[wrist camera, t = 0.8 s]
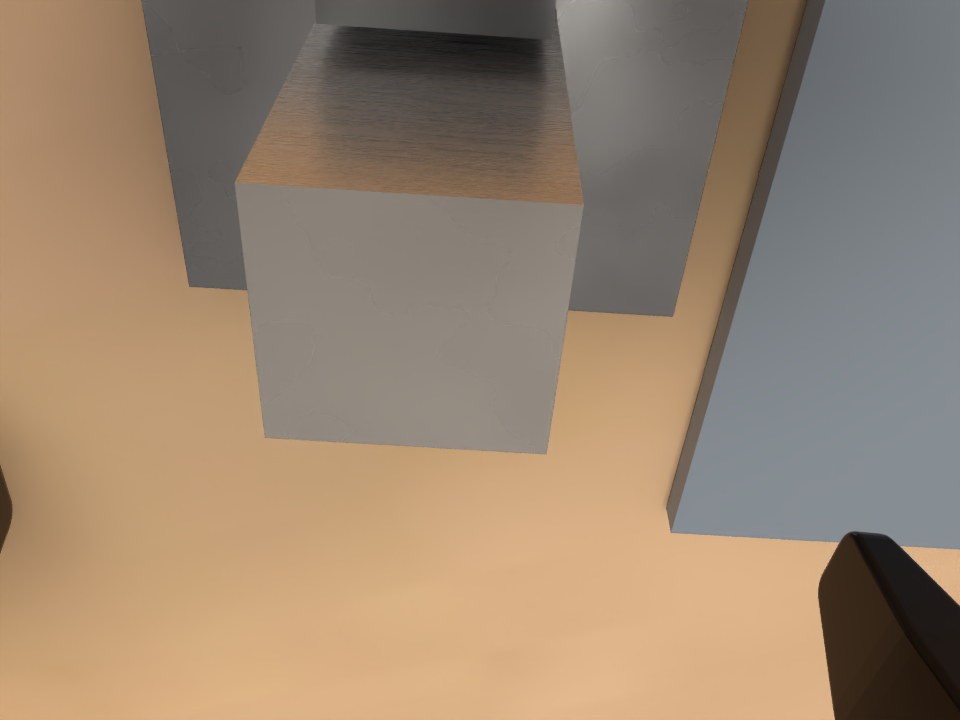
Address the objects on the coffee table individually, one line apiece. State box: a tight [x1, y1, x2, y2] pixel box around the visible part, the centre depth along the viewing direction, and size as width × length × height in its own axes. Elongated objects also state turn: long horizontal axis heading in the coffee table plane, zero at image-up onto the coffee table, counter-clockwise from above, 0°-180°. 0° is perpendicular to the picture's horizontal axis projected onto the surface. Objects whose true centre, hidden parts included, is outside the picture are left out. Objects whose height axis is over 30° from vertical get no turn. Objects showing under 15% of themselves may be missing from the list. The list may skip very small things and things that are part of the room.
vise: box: [142, 0, 748, 317], centre depth 19 cm, size 12×10×4 cm
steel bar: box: [235, 9, 584, 454], centre depth 16 cm, size 4×4×8 cm
